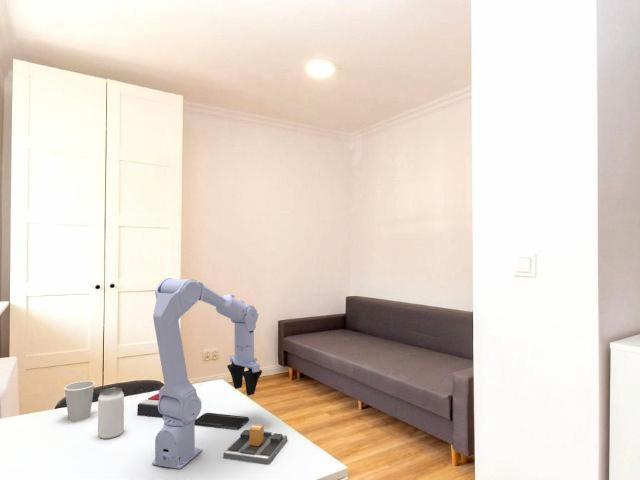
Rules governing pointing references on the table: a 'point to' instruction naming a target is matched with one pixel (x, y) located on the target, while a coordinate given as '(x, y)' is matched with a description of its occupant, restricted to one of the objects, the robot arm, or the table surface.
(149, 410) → the red and black box
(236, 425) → the phone
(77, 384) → the dixie cup
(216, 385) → the table surface
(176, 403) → the robot arm
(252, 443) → the handle
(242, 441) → the panel
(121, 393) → the can
